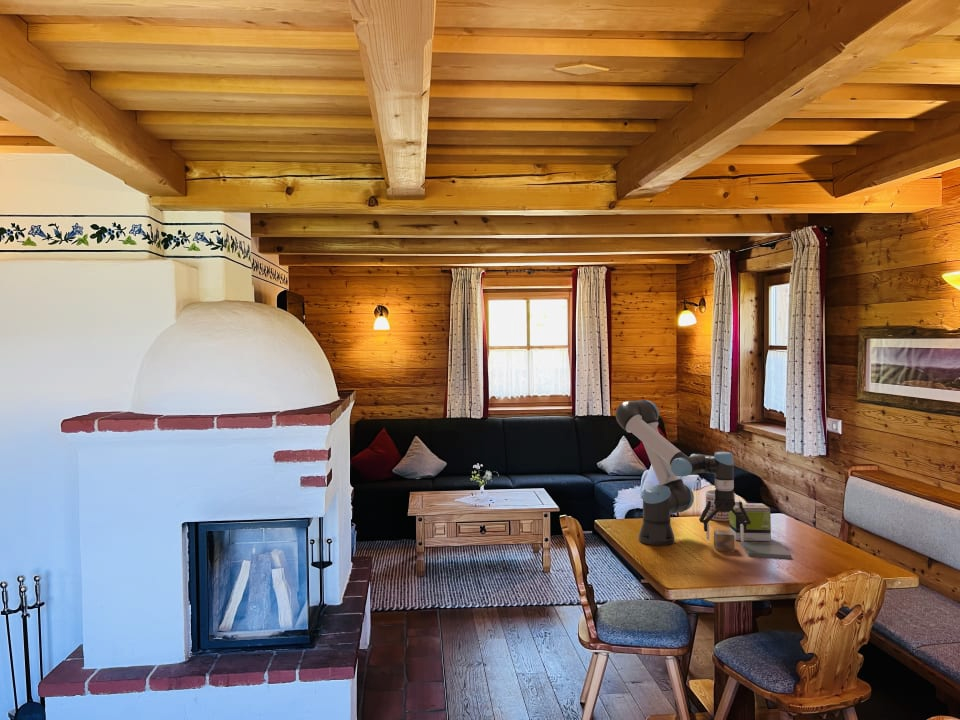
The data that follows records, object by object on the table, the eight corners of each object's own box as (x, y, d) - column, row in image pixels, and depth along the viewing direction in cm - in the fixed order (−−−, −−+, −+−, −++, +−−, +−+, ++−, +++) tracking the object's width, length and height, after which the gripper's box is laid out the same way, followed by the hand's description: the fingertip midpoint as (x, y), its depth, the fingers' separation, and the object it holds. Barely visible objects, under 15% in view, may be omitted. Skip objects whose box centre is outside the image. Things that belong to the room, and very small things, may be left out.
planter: (708, 521, 318) (708, 495, 318) (703, 514, 332) (703, 489, 331) (737, 522, 316) (737, 496, 316) (731, 515, 329) (731, 490, 329)
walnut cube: (716, 550, 270) (716, 534, 270) (713, 546, 277) (713, 529, 277) (734, 551, 269) (734, 535, 269) (731, 547, 276) (731, 530, 276)
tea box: (763, 535, 293) (763, 502, 293) (771, 541, 283) (771, 508, 283) (729, 534, 295) (729, 502, 295) (735, 540, 285) (735, 507, 285)
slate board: (748, 556, 263) (748, 552, 263) (740, 544, 278) (740, 541, 278) (791, 558, 260) (791, 555, 260) (780, 547, 275) (780, 543, 275)
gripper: (694, 490, 272) (695, 541, 271) (757, 491, 267) (758, 543, 267) (692, 486, 279) (692, 536, 279) (753, 488, 274) (754, 538, 274)
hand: (724, 540), depth 273 cm, fingers open, 13 cm apart
